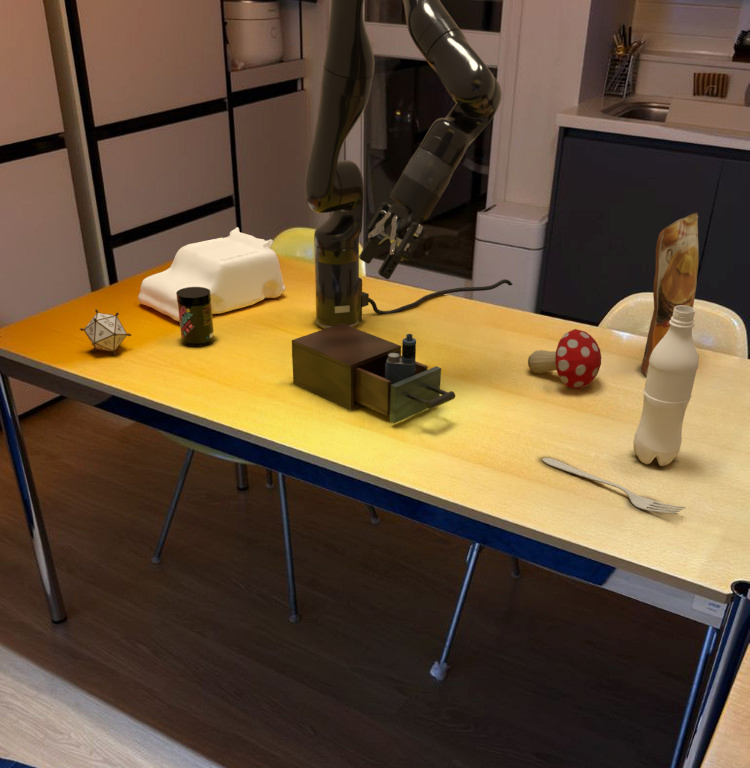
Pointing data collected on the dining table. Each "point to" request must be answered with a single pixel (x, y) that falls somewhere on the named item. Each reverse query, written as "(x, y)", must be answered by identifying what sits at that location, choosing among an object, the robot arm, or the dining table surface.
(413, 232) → the robot arm
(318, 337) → the cabinet
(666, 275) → the pancake mix bag
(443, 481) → the dining table surface
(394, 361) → the vaping device
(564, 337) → the decorative mushroom
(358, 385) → the drawer
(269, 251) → the white toy car
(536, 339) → the dining table surface
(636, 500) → the fork
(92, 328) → the game die
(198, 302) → the supplement container
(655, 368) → the water bottle
